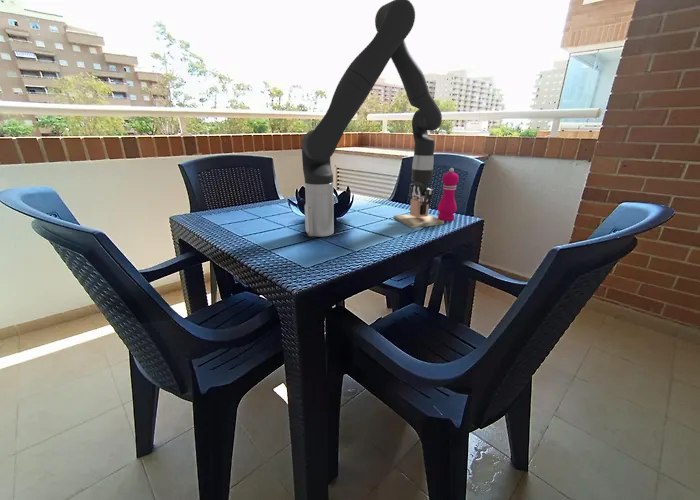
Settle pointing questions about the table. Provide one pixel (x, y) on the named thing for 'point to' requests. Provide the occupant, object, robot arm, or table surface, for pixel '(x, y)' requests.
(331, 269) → the table surface
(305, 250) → the table surface
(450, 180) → the pepper mill
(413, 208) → the terracotta block
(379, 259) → the table surface
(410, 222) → the birch board
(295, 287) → the table surface
